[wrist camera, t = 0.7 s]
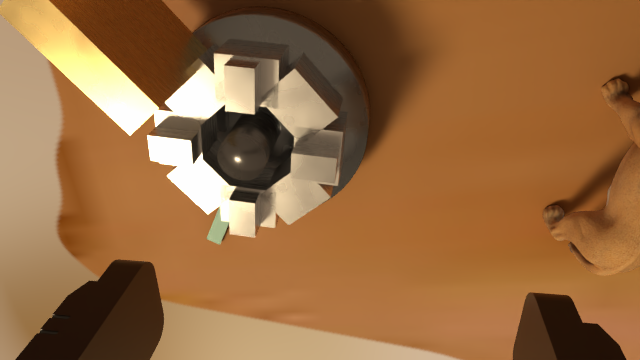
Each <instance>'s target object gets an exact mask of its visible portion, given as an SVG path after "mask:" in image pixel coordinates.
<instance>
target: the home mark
mask: <svg viewBox="0 0 640 360" xmlns="http://www.w3.org/2000/svg"><path fill="white" fill-rule="evenodd" d="M228 225H229V222H227V221H221V205H220V207H219V209H218V212H217V214H216V217H215V219H214V222H213V224H212V226H211V229H210V231H209V234H208V236H207V239H208V240H210V241H212V242H215V243H217V244H219V245H220V243H221V241H222V239H223V236H224V234H225V232H226V229H227V227H228Z"/></svg>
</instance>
